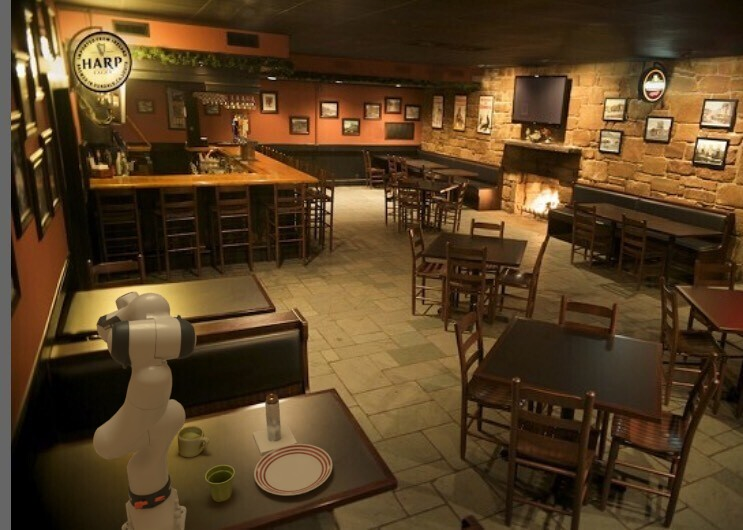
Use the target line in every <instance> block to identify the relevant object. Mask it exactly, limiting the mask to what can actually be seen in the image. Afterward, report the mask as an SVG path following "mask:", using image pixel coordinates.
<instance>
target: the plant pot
mask: <svg viewBox="0 0 743 530" xmlns="http://www.w3.org/2000/svg"><path fill="white" fill-rule="evenodd" d="M234 476H235V469H234V467H233V466H231V465H229V464H220V465H216V466H213V467H211V468H209V469H208V470H207V471H206V473H205V475H204V477H205V478H204V479H205V481H206V483H207V484H208V486H209V490H210V494H211V497H212V500H213V501H215V502H217V503H221V502H225V501H227V500H229V499H230V498H231V496H232V489H233V479H234Z"/></svg>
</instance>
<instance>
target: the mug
mask: <svg viewBox="0 0 743 530" xmlns="http://www.w3.org/2000/svg"><path fill="white" fill-rule="evenodd" d="M204 432H205V431H204V430H203V428H202V427H200V426H199V425H198V426H197V425H191V426H190V425H189V426H185V427H182V428H181V429H180V430H179V432H178V433H177V444H178V445H177V447H178V453H179V455H180V456H182V457H184V458H192V457H196V456H198V455H200V454H201V453H202V452H203V450H204V448H205V447H206V446H207V445H208V444H209V443H210V442H211V441H210V439H209V437H207V436H205V433H204Z"/></svg>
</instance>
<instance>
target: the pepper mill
mask: <svg viewBox="0 0 743 530" xmlns="http://www.w3.org/2000/svg"><path fill="white" fill-rule="evenodd" d="M265 399H266V400H264V401H265V402H264V403H265V416H266V417H265V419H266V421H265V422H266V429H267V436H268V440H269V441H271V442H276V441H278V440H280V439H281V426H280V425H281V414H280V412H281V411H280V400H279V397H278V395H277V394H276V393H272V392H270V393H269V394H267V395H266V396H265Z"/></svg>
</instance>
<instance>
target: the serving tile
mask: <svg viewBox="0 0 743 530" xmlns="http://www.w3.org/2000/svg"><path fill="white" fill-rule="evenodd" d="M280 426H281V439H280V440H278V441H276V442H271V441H269V440H268V436H267V428H265V429H261V430H257V431H253V432H252V437H253V439H254V442H255V443H256V446H257V448H258V451H259V453H260V456H265V455H266V454H267V453H269V452H271V451H273V450H275V449H277V448H279V447H283V446H287V445H292V444H298V442H297V440H296V438H295V436H294V435H293V432H292V431H291V429H290V427H289V425H288V424H287V423H284V424H280Z"/></svg>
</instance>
